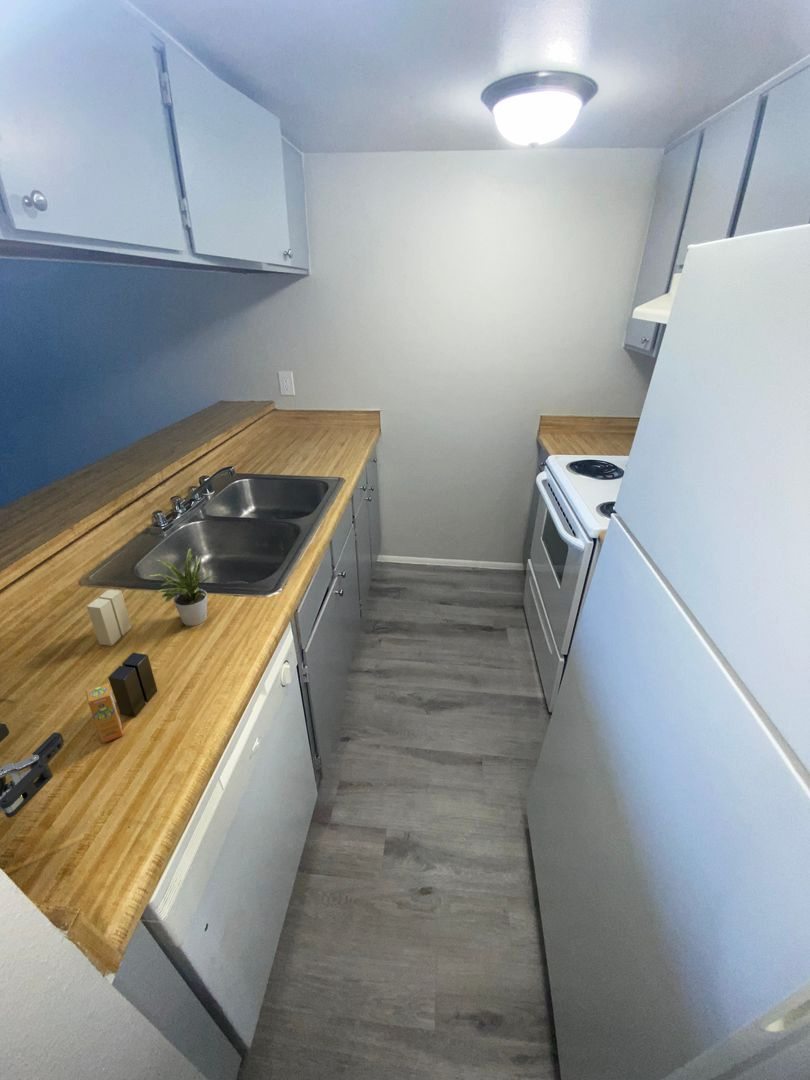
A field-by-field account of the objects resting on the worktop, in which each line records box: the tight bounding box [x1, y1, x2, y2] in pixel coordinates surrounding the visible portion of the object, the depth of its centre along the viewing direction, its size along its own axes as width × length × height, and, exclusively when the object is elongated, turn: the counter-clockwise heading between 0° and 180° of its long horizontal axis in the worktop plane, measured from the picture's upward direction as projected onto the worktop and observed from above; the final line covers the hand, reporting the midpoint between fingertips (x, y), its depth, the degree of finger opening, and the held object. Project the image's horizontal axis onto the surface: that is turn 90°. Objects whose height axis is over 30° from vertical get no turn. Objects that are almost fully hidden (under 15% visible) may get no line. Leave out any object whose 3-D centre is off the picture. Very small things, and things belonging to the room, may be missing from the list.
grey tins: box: [107, 652, 158, 718], centre depth 86 cm, size 6×3×9 cm, turn 171°
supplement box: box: [85, 682, 124, 744], centre depth 79 cm, size 3×3×10 cm
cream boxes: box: [86, 588, 132, 647], centre depth 102 cm, size 6×3×10 cm, turn 171°
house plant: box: [145, 547, 216, 627], centre depth 107 cm, size 14×14×16 cm
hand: (32, 731), depth 65 cm, fingers open, 8 cm apart
